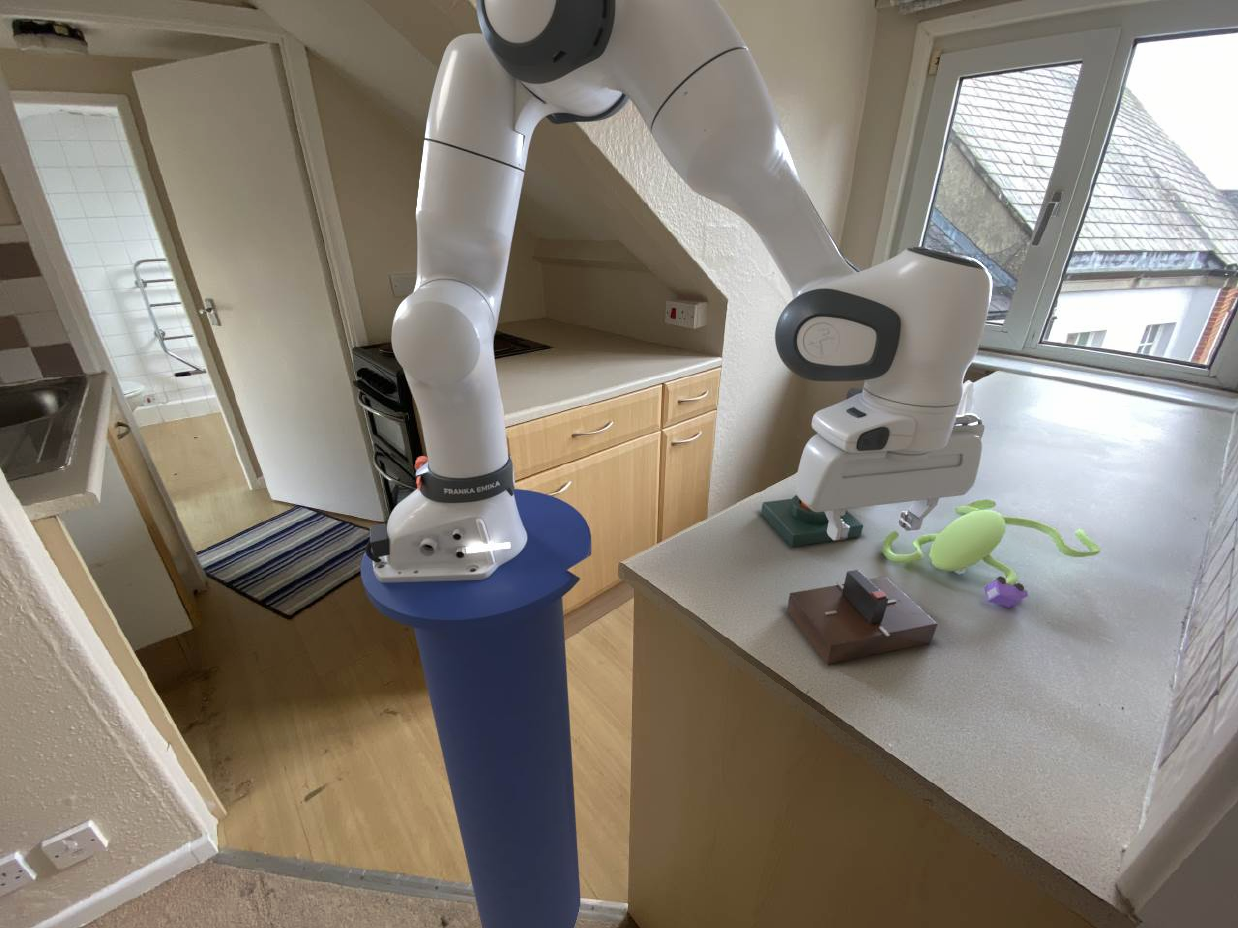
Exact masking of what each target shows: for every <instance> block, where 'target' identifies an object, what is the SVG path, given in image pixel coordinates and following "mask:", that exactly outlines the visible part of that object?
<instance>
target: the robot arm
mask: <svg viewBox="0 0 1238 928" xmlns="http://www.w3.org/2000/svg"><path fill="white" fill-rule="evenodd" d="M475 5H476V6H475V7H476V14H477V20H478V24H479V28H480V30H481V33H480V32H479V33H477V32H475V33H474V32H473V33H472V32H471V33H465V34H461V35H457V36H456V37H454V38H453V39H452V40H451V41H450V42H449V43H448V45H447V46H446V48H445V50H444V52H443V55H442V59H441V62H440V64H439V67H438V71H437V75H436V78H435V82H434V86H433V90H432V94H431V98H430V103H429V108H428V114H427V119H426V126H425V133H424V140H423V150H422V159H421V167H420V175H419V184H418V192H417V202H416V210H415V221H416V232H417V237H416V238H417V252H416V253H417V257H416V258H417V260H416V261H417V262H416V281H415V286H414V290H413V292H412V293H410V294H409V295H408V296H407V297H405V299H403V300H402V302H401V303H400V304H399V306H398V308H397V309H396V312H395V314H394V318H393V321H392V326H391V335H390V336H391V348H392V351H393V354H394V356H395V359H396V361H397V362H398V364H399V365H400V366H401V368H402V369H403V373H404V376H405V379H406V381H407V382H406V383H407V384H408V387H409V390H410V393H411V394H412V397H413V400H414V403H415V405H416V408H417V411H418V415H419V418H420V423H421V429H422V435H423V439H424V445H425V450H426V455H425V456H424V455H421V456H418V457H416V460H415V464H414V469H415V482H416V489H415V490H414V491H412V492H411V493H410V494H409V495H407V496H406V497H405V498H403V499H402V500H401V501H399V502H398V503H397V504H396V506H394V508H393V509H392V511H391V513H390V515H389V517H388V520H387V523H386V522H383V523H379V524H375V525H374V524H373V525H370V526H369V539H368V542H367V544H366V546H365V551H364V553H365V552H366V554H367V556H368V557H369V558H370V559H371V560H373V570H374V574H375V576H376V578H377V579H378V580H379V581H380V582H385V583H389V582H426V581H461V580H483V579H486V578H487V577H489V576H490V575H491V574H492V573H493V572H494V571H495V570H496V569H497V568H498V567H499V566H500V565H502V564H504V563H505V562H507V561H509V560H511V559H512V558H514V557H515V556H516V555H518V554H519V553H520V552H521V551H522V549H523V548H524V547H525V545H526V542H527V532H526V530H525V528H524V526H523V524H522V521H521V519H520V516H519V512H518V509H517V505H516V502H515V497H514V491H515V489H516V480H515V479H516V478H515V469H514V464H513V461H512V460H513V459H512V456H511V454H510V452H509V449H508V440H507V439H508V438H507V429H506V420H505V419H506V418H505V412H504V411H505V410H504V404H503V400H502V397H501V396H502V395H501V391H500V384H499V379H498V373H497V367H496V359H495V351H494V340H495V335H496V331H497V328H498V322H499V316H500V311H501V306H502V299H503V295H504V289H505V284H506V283H505V282H506V278H507V277H506V276H507V272H508V271H507V270H508V266H509V259H510V253H511V247H512V242H513V236H514V231H515V226H516V220H517V214H518V211H519V210H518V209H519V204H520V199H521V193H522V188H523V183H524V177H525V171H526V166H527V159H528V153H529V147H530V144H531V140H532V136H533V133H534V130H535V129H536V126H537V125H538V124H539V122H540V121H541V120H543V118H546V119H547V120H548V121H549V122H550V123H552V124H554V125H562V124H571V123H591V122H600V121H604V120H607V119H609V118H611V117H613V116H615V115H617V114H618V113H619V112H620V111H621V110H622V109H623V108H624V107H625V106H626V105H627V103H628V102H629V100H630V101H631V103H632V104H633V105H634V107H635V108H636V109H637V111H638V113H639V114H640V116H641V118H642V120H643V122H644V123H645V125H646V127H647V129H648V131H649V132H650V134H651V137H652V138H653V140H654V141H655V143H656V145H657V146H658V149H659V150H660V152H661V153H662V155H663V156H664V158H665V160H666V161H667V162H668V164H669V166H671V167H672V168H673V170H674V171H675V173H677V175H678V176H679V177H680V179H682V181H684V183H685V184H686V185H687V186H688V187H689V189H690V190H692V191H693V192H694V193H696V194H697V195H700V196H702V197H703V198H705V199H708V200H711V201H713V202H715V203H717V204H718V205H720V206H722V207H724V208H726V209H728V210H730V211H731V212H733V213H735V214H736V215H737V216H738V217H740V218H741V219H742V220H743V221H745V222H746V223H747V224H748V225H749V226H750V227H751V228H752V230H754V232H755V233H756V234H757V236H758V237H759V238H760V240H761V242H762V243H763V245H764V247H765V249H766V251H768V254H769V255H770V256H771V259H772V260H773V261H774V263H775V264H776V265H775V266H777V268H778V269H779V271H780V273H781V275H782V276H783V278H784V280H785V282H786V283H787V284H788V286H789V288H790V290H791V294H792V297H793V299H792V300H791V301H790V302H789V303H788V304H787V305H786V306H785V307H784V309H783V310H782V311H781V313H780V315H779V317H778V320H777V322H776V326H775V333H774V341H775V342H774V343H775V348H776V351H777V354H778V356H779V358H780V360H781V361H782V363H783V364H784V366H785V367H786V368H787V369H788V370H790V372H791V373H793V374H794V375H796V376H798V377H800V378H802V379H805V380H808V381H814V382H857V381H859V382H861V381H864V383H863V387H862V388H863V391H862V393H859V394H857V395H855V396H853V397H851V398H849V399H847V400H846V399H844V400H842V401H840V402H837V403H835V404H833V405H830V406H828V407H825V408H822V409H819V410H818V411H816V412H815V413H814V414H813V416H812V420H811V428H812V429H813V431H815V432H816V434H815V435H813V436H812V437H811V438H810V439H809V440H808V441H807V442H806V443H805V446H804V448H803V451H802V453H801V457H800V462H799V465H798V468H797V472H796V478H795V484H794V492H795V494H796V495H797V496H798V497H799V499H800V500H801V501H802V502H803V503H804V504H805V505H806V506H807V507H808V508H809V509H811V510H812V511H814V512H825V514H826V516H827V519H828V520H829V523H828V528H827V534H828V536H829V537H830V538H831V539H833V540H834V541H842V540H846V539H848V538H847V537H848V535H847V534H848V532H849V529H850V527H849V526H848V525H847V524H845V523H844V522H843V521H842V520H841V519H840V516H844V515H845V512H846V511H847V510H849V509H856V508H858V509H859V508H864V507H865V508H866V507H874V506H875V507H876V506H882V505H891V504H900V503H909V502H912V504H911V505H910V506H909V508H908V509H907V510H903V511H901V513H900V518H899V519H898V524H899V526H900V527H901V528H903V529H904V530H905V531H906V532H909V531H918V530H920V529H921V527H922V525H923V522H924V519H926V517H927V516H928V515H929V514H930V513H931V512H932V511H933V510H934V509H935V508H936V507H937V505H938V503H939V501H940V499H943V498H952V497H961V496H965V495H966V494H967V493H968V492H969V491H970V490H971V489H972V488H973V487H974V485H975V483H976V478H977V476H978V472H979V467H980V463H981V457H982V451H983V443H982V437H983V435H984V432H985V424H984V422H983V421H982V419H981V418H980V417H978V415H977V414H974V413H971V414H963V415H957V414H958V411H959V407H960V404H961V401H962V397H963V384H964V379H965V376H966V373H967V371H968V369H969V368H970V366H971V364H972V363H973V362H974V360H975V359H976V357H977V354H978V351H979V348H980V345H981V340H982V337H983V334H984V331H985V327H986V323H987V318H988V315H989V311H990V310H989V309H990V304H991V299H992V291H993V279H992V275H991V274H990V273H989V272H988V271H989V270H988V268H987V267H985V266H984V264H983V263H981V262H980V261H978V260H977V259H976V258H973V257H971V256H967V255H964V254H961V253H957V252H953V251H949V250H945V249H940V248H935V247H928V246H913V247H907V248H905V249H904V250H903V251H902V252H900V253H898V254H897V255H895V256H893V257H891V258H889V259H887V260H885V261H883V262H881V263H878V264H876V265H873V266H871V267H869V268H866V269H864V270H862V269H860V268H859V267H857V266H856V265H854V264H853V263H852V262H851V261H849V260H848V259H847V258H846V257H845V256H844V255H843V253H842V252H841V250H840V249H839V247H838V246H837V244H836V242H835V241H834V239H833V237H832V236H831V233H830V232H829V229H827V226H826V225H825V223H824V222H823V221H824V220H822V218H821V216H820V214H819V213H818V210H817V209H816V207H815V206H814V204H813V202H812V201H811V199H810V197H809V195H808V193H807V192H806V190H805V187H804V186H803V184H802V182H801V179H800V177H799V175H798V172H797V169H796V166H795V164H794V161H793V160H794V159H793V157H792V155H791V152H790V149H789V146H788V143H787V140H786V138H785V135H784V134H785V133H784V132H783V129H782V126H781V123H780V119H779V116H778V113H777V111H776V108H775V105H774V102H773V99H772V97H771V95H770V92H769V90H768V87H767V85H766V82H765V80H764V78H763V74H762V73H761V71H760V69H759V66H758V65H757V62H756V61H755V59H754V57H753V55H752V53H751V51H750V50H749V47H748V45H747V44H746V42H745V40H744V39H743V37H742V36H741V34H740V32H739V30H738V29H737V27H736V26H735V24H734V22H733V21H732V19H731V18H730V16H729V15H728V14H727V12H726V11H725V9H724V7H723V6H722V5H721V4H720V2H719V1H718V0H475ZM371 548H372V551H373V553H372V551H371Z"/></svg>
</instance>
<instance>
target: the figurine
mask: <svg viewBox="0 0 1238 928" xmlns="http://www.w3.org/2000/svg"><path fill="white" fill-rule="evenodd" d="M996 505H997V502H996V501H994V500H992V499H981V500H975V501H973V502H971V503H969V504H966V505H958V506H957V507H955V510H954V511H955V513H956V514H958V515H961V516H959V517H957V518H956V519H954V520H953V521H952V522H950V523H949V524H948V525H946V526H945V527H944V528H943V529H942V531H940V532H939V533H926V534H924V535H921V536H919V537H917V538H916V539H915V540H914V541H912V546H913V547H914V548H915V549H916V551H914V552H913V553H909V554H897V553H895V552H893V551H892V550H891V547H892V544H893V543H894V541H895V540H896V539H897V538H898V537H899V536H900V533H899V532H898V531H893V530H892V531H891V532H890V533H889V534H888V535H887V536H886V537H885V539H884V540H883V542H882V546H881V552H882V554H883V556H884V557H885V558H887V560H888V561H891V562H893V563H899V564H900V563H901V564H912V563H915V562H918V561H920V560H922V559H924V554H923V552H922V549H921V548H922V546H924V545H925V544H927V543H930V542H932V543H931V545H930V549H929V554H928V557H929V560H930V562H931V565H932V566H933V567H934V568H936V569H937V570H940V571H944V572H954V573H955V574H958V575H959V576H963V575H964V574H965V573H966V572H967V568H969V567H971V566H975V565H976V564H977V563H979V562H980V561H983V562H984V563H986V564H987V565H989V566H991V567H993V568H995V569H997V570H999V571H1000V572H1003V573H1004V575H1005V577H1004V576H997V577H996V578H995V580H994V581H992V582H990V583H988V584H987V585H986V584H984V586H983V587H984V591H985V592H984V593H985V596H986V600H987V602H989V603H992V604H995V605H998V606H1002V607H1005V608H1011V607H1014V606H1016V605H1019V604H1020V603H1022V600H1023V599H1025V598H1026V597H1029V593H1028V590H1025V586H1024V585H1023V584H1022V583H1020V582H1018V577H1017V574H1016V571H1015V570H1013V569H1012V568H1011V567H1009V566H1008V565H1005V564H1004V563H1003V562H1001V561H999V560H997V559H996V558H994V557H993V556H992V555H991V554H992V552H993V551H994V550H995V549H996V548H997V547H998V546H999V545H1000V543H1001V542H1002V539H1003V537H1004V535H1005V533H1006V525H1010V526H1018V527H1025V528H1030V529H1034V530H1036V531H1040V532H1042V533H1045V534H1046V535H1049V536H1050V537H1051V539H1052V540H1053V542H1054V546H1055V547H1056V548H1057V550H1058V552H1060V553H1062V554H1063V555H1065V556H1068V557H1072V558H1086V557H1093V556H1096V555H1098V554H1099V553H1100V552H1101V547H1100V546H1099V545H1098V544H1097V543H1096V542H1095V541H1093V540H1092V539H1091V538H1090V537H1089V536H1088V535H1087V534H1086V533H1087V531H1085V530H1084V529H1082V528H1078V529H1076V530H1075V532H1074V534H1075V536H1076V538H1077V539H1078V540H1079V542H1081V543H1082V545H1084V546H1085V547H1086V548H1087V549H1088V551H1083V550H1078V549H1075V548H1072V547H1071V546H1069V545H1067V544H1066V543H1065V541H1064V539H1063V535H1062V534H1061V532H1060V531H1059V530H1057V528H1055V527H1053V526H1051V525H1048V524H1046V523H1043V522H1041V521H1036V520H1033V519H1029V518H1022V517H1015V516H1006V515H1005V516H1004V515H1002V514H1001V513H1000V512H998V511H996V510H992V508H995V507H996Z"/></svg>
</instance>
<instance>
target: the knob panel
mask: <svg viewBox="0 0 1238 928" xmlns="http://www.w3.org/2000/svg"><path fill="white" fill-rule="evenodd" d="M868 579H869V578H868ZM869 580H870V581H871V582H872V583H873V584H874V585H875V586H876V587H877V588H878V589H879V590H880V591H882V592H883V593H884V594H885V595H887V597H888V603H887V606H886V610H885V613H884V617H883V620H882V622H878V623H873V624H870V623H869V622H868V621H867V620H866V619H865V618H864V617H863V616H862V615H861V613H860V612H859V611H858V610H857V609H856V608H855V607H854V606H853V605H852V604H851V603H850V602H849V601H848V600H847V599H846V598H845V597H844V596H843V595H842V591H843V587H844V583H841V582H840V581H836V582H835V583H836V584H835V585H829V586H824V587H818V588H811V589H806V590H805V589H804V590H801V591H793V592H790V593H789V597H788V602H787V606H786V607H787V608H786V613H787V614H788V615H789V616H790V618H791V620H793V622H795V624H796V626H797V627H798V628H799V630H800V631H801V632H802V634H803V635H804V636H805V638H806V639H807V640H808V642H809V643H810V644H811V645H812V646H813V648H814V649H815V651H816V652H817V653H818V655H819V656H820V657H821V658H822V660H823V661H824V662H825V664H826V665H830V664H836V663H840V662H845V661H849V660H854V659H859V658H864V657H869V656H874V655H878V654H883V653H889V652H892V651H898V650H902V649H907V648H908V649H909V648H912V647H917V646H921V645H926V644H930V643H932V641H933V638H934V636H935V633H936V630H937V628H938V622H936V621H935V620H934V619H933V618H932V616H930V615H929V614H928V613H926V612H925V611H924V610H923V609H922V608H921V607H920V606H919V605H918V604H917V603H915V601H914V600H912V599H911V598H910V597H909V596H908V595H907V594H906V593H905V592H903V591H902V589H900V588H899V587H898V586H897V585H896V584H895V583H894V582H893V581H892V580H890V579H889V578H888V576H880V577H876V578H870V579H869Z"/></svg>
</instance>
